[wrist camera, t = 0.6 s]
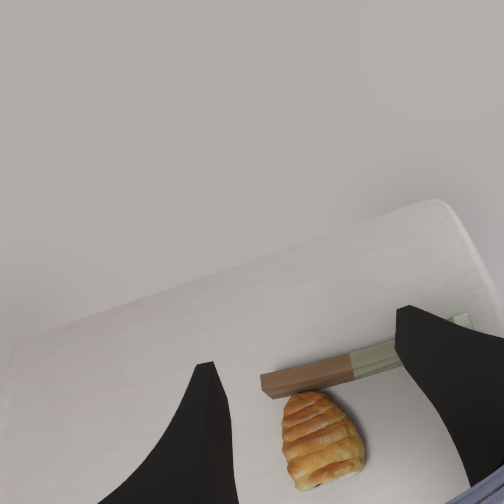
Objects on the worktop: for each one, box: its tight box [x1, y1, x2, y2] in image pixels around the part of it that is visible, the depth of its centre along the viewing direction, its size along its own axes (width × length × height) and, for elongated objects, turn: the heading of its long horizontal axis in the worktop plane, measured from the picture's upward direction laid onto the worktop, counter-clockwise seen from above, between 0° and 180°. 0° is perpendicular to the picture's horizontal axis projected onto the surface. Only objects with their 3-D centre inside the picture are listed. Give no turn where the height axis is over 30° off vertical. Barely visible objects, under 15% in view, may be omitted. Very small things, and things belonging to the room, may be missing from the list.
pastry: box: [282, 391, 366, 491], centre depth 23 cm, size 9×7×4 cm
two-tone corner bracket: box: [260, 312, 474, 399], centre depth 22 cm, size 14×20×4 cm
